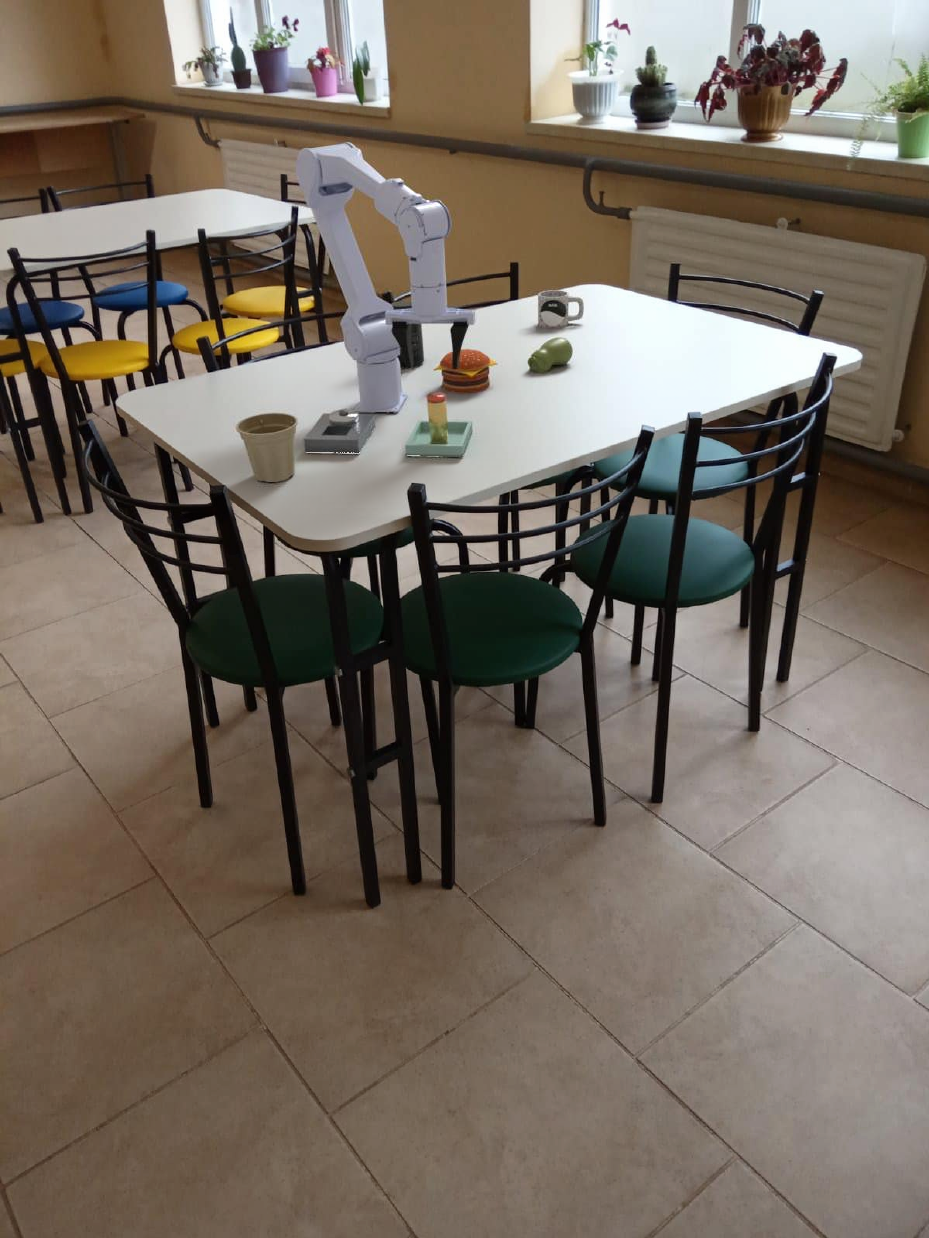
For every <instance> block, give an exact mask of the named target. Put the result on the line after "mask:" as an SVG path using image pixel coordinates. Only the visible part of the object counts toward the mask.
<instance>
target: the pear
mask: <svg viewBox="0 0 929 1238" xmlns="http://www.w3.org/2000/svg"><path fill="white" fill-rule="evenodd" d="M572 356H573V346H572V344H571V342H570V341H569V340H568V339H567V338H565V337H561V336H560V337H559V336H558V337H553V338H551V339H549V340H547V341H545V342H544V343H543V344H542V345H541V346H540V348H539V349H536V350H534V352H533V353H531V355H530V357H529V358H528V360H527V365H528V367H529V370H530V371H533V372H535V373H538V374H539V373H543V374H544V373H546V372H549V371H550V369H551V367H552V366H563V365H566V364H567V363H568V362H570V360H571V359H572Z"/></svg>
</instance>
